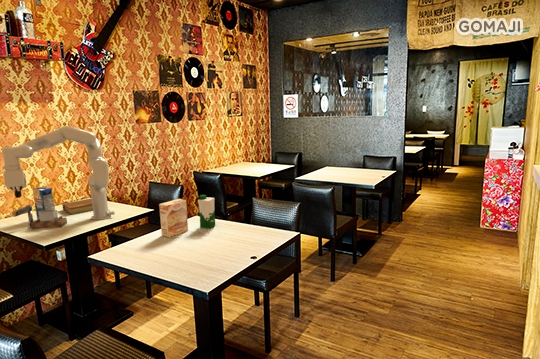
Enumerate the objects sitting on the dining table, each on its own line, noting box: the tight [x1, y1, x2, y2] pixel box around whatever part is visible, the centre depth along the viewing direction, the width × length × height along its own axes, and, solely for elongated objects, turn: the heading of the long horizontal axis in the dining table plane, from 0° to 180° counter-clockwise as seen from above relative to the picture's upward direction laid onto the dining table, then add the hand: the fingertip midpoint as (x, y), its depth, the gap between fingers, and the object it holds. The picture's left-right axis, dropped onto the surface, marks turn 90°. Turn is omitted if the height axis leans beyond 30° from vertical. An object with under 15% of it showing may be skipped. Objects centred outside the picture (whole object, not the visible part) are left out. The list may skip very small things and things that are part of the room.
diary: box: [62, 198, 93, 216], centre depth 286 cm, size 23×19×6 cm
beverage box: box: [32, 186, 56, 220], centre depth 261 cm, size 7×11×22 cm, turn 61°
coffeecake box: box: [158, 198, 189, 238], centre depth 227 cm, size 15×7×20 cm, turn 143°
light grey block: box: [39, 209, 59, 222], centre depth 247 cm, size 9×5×7 cm, turn 96°
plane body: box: [31, 215, 68, 230], centre depth 248 cm, size 18×9×5 cm, turn 96°
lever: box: [11, 204, 33, 218], centre depth 238 cm, size 16×3×3 cm, turn 178°
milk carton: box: [197, 194, 216, 229], centre depth 238 cm, size 9×9×20 cm
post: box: [27, 209, 34, 229], centre depth 246 cm, size 4×4×11 cm
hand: (18, 197), depth 231 cm, fingers closed
